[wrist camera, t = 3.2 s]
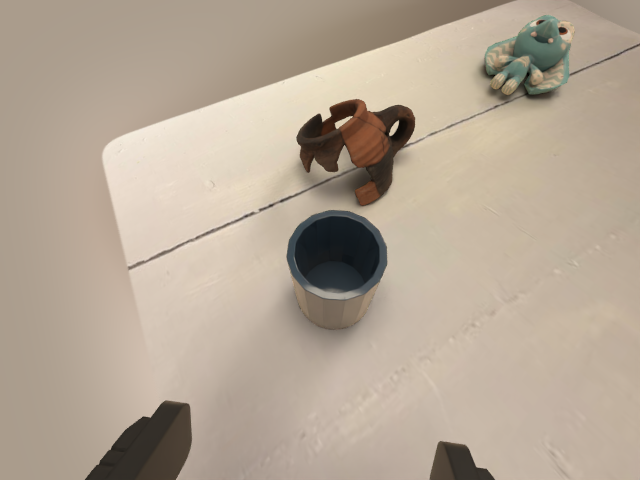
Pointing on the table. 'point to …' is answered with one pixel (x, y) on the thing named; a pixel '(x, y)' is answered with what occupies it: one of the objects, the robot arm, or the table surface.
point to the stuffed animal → (532, 57)
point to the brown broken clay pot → (358, 142)
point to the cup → (336, 267)
